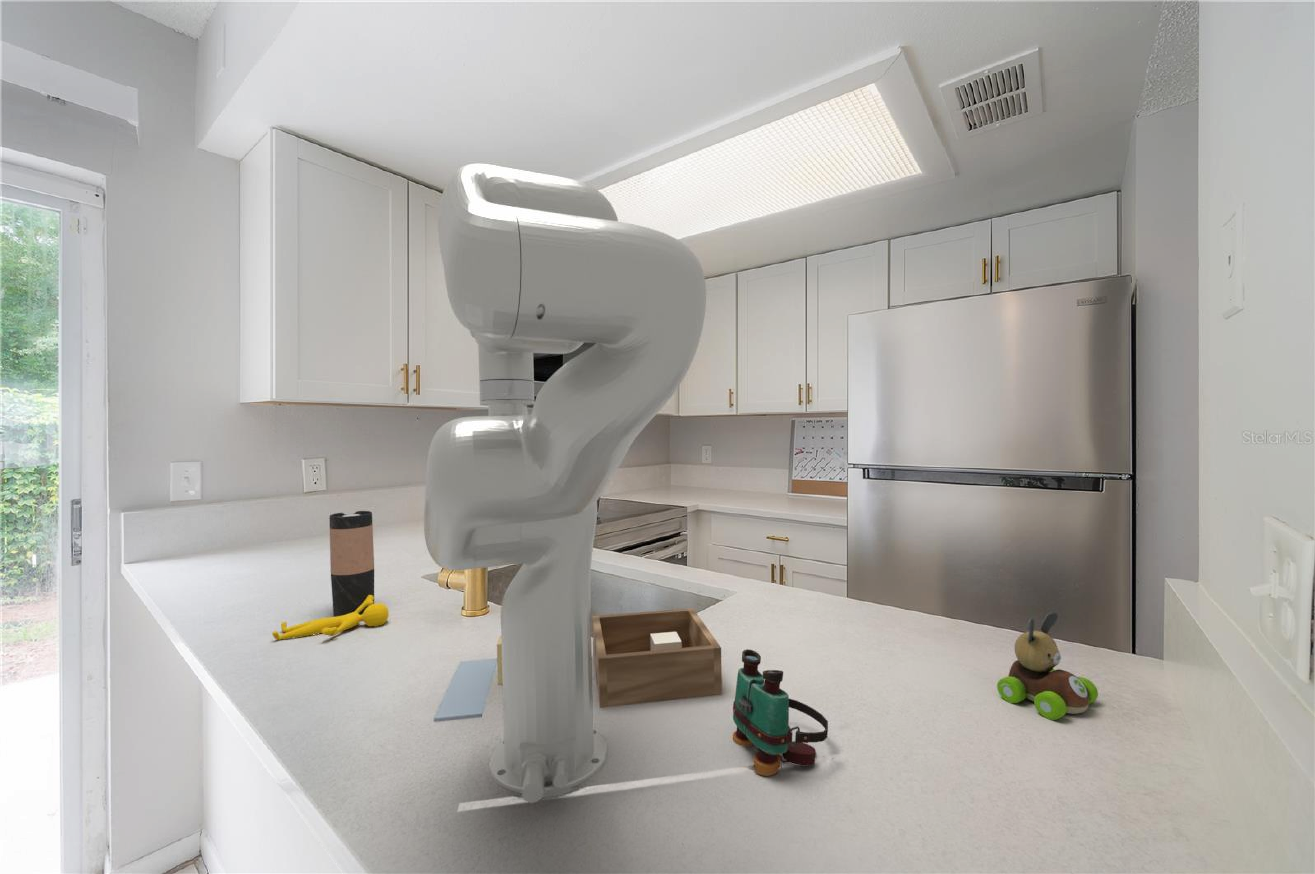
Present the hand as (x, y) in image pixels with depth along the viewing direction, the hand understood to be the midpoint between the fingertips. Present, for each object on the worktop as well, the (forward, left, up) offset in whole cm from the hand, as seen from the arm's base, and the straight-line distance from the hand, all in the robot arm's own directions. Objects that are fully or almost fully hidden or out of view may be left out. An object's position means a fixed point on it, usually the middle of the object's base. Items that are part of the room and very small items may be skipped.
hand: (510, 514), depth 79 cm
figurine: (+28, +35, -24) cm, 51 cm away
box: (-4, -20, -24) cm, 31 cm away
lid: (-1, 0, -25) cm, 25 cm away
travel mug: (+37, +34, -24) cm, 56 cm away
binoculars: (-24, -31, -24) cm, 46 cm away
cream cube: (-1, -22, -23) cm, 32 cm away
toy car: (-20, -68, -24) cm, 75 cm away
